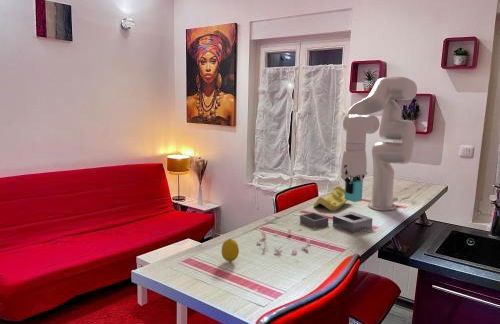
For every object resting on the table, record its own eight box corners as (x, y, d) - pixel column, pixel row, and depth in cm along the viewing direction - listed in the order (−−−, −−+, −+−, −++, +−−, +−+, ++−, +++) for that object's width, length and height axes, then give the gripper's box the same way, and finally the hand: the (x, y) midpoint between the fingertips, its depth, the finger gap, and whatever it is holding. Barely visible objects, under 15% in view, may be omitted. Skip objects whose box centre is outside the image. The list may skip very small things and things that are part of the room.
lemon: (225, 267, 116) (224, 243, 115) (219, 260, 121) (219, 237, 120) (241, 264, 118) (241, 240, 117) (235, 257, 123) (234, 234, 122)
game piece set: (246, 242, 137) (246, 232, 136) (287, 231, 148) (287, 222, 147) (280, 261, 121) (280, 250, 120) (323, 246, 133) (323, 236, 132)
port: (351, 220, 159) (351, 211, 159) (371, 227, 150) (372, 218, 150) (332, 225, 154) (333, 215, 153) (352, 233, 145) (353, 223, 144)
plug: (351, 197, 153) (352, 175, 152) (361, 200, 149) (362, 177, 147) (344, 199, 151) (345, 176, 150) (354, 202, 147) (355, 178, 145)
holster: (313, 218, 162) (313, 212, 161) (328, 224, 154) (328, 217, 154) (300, 221, 158) (300, 215, 158) (314, 228, 150) (314, 221, 150)
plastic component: (336, 207, 171) (317, 195, 175) (329, 219, 174) (311, 207, 179) (353, 195, 186) (336, 184, 191) (347, 206, 190) (330, 195, 195)
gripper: (362, 145, 154) (360, 188, 157) (333, 147, 145) (331, 193, 148) (377, 147, 148) (374, 191, 151) (347, 149, 139) (345, 197, 142)
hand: (353, 191), depth 149 cm, fingers closed on plug, 4 cm apart
